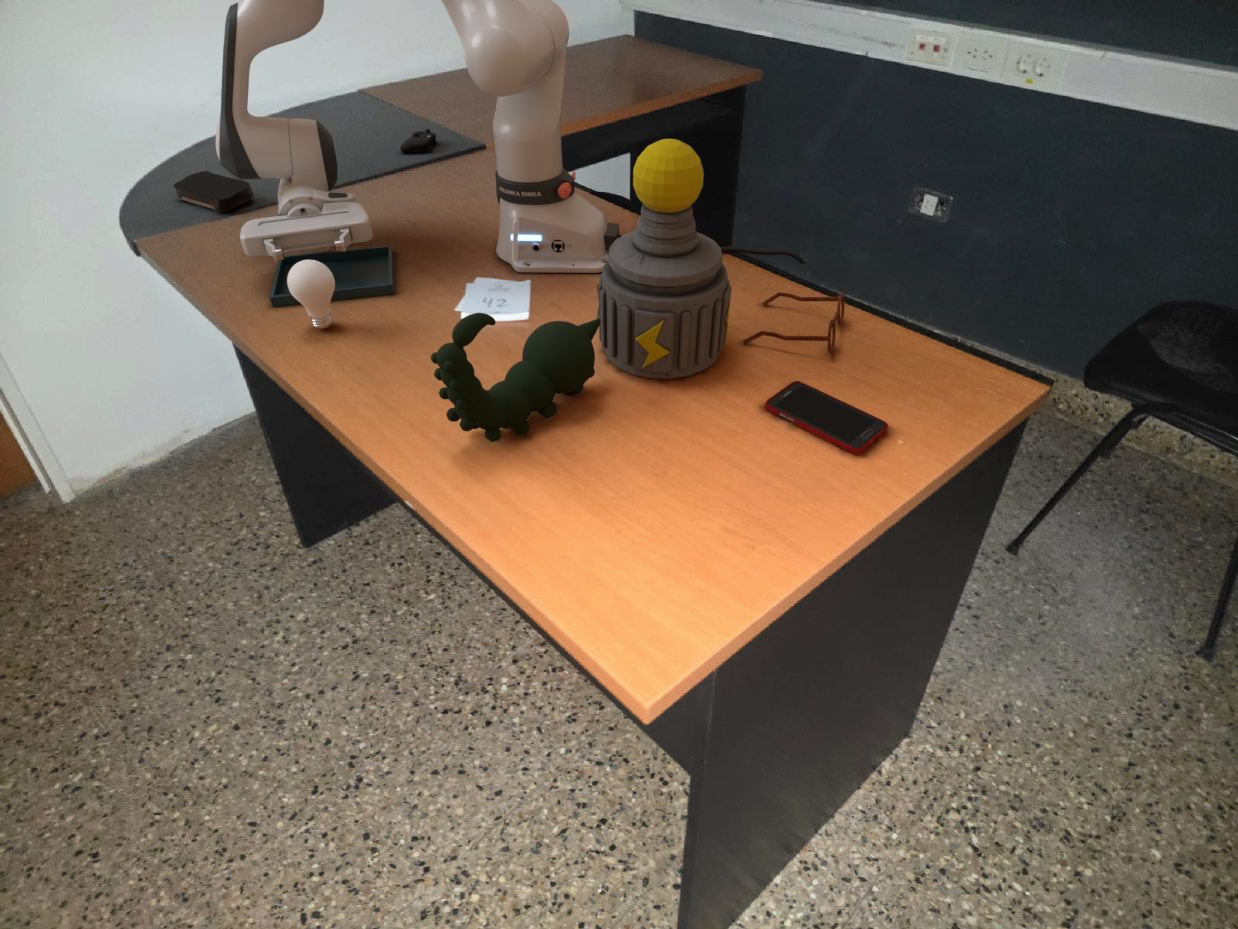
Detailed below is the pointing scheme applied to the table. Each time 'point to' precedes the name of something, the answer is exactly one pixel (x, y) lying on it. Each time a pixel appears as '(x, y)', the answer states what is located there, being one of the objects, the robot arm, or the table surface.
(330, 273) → the light bulb
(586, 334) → the toy figurine
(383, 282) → the tray
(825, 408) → the cell phone
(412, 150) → the game controller
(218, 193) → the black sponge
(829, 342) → the glasses
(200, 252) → the table surface
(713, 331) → the decorative lamp
